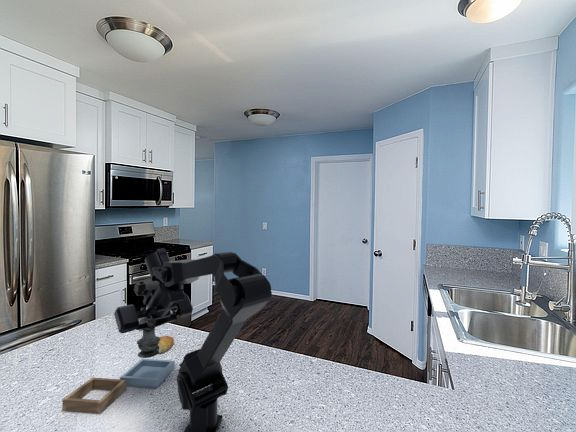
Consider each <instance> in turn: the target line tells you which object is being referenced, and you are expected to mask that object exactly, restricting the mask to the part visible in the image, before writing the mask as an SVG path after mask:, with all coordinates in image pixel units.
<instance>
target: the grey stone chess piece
mask: <svg viewBox="0 0 576 432" xmlns="http://www.w3.org/2000/svg"><path fill="white" fill-rule="evenodd" d="M147 324H148V328H146V329H144V330H143V331H142V336H141V338H140V339H138V340H136V344H137V347H138V349H139V352H138V353H137V357H138V358H140V359H150V358H152V357H155V356H157V355H158V354H160V353H159V350H157V349H155V348H156V347H157V346H158V344H159V341H160V338H159V337H160V336H156V328H157V327H156V325H155V320H154V321H151V319H149V320H148V321H147Z"/></svg>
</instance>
